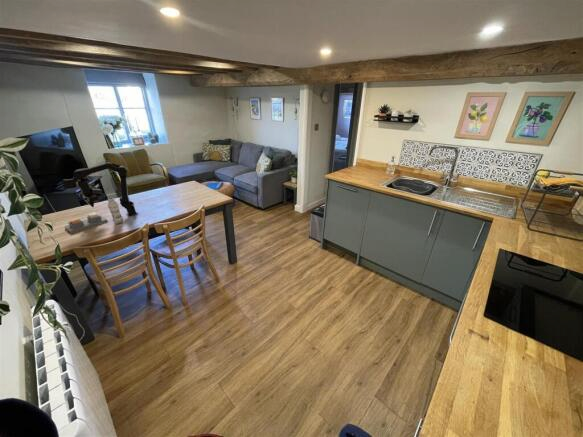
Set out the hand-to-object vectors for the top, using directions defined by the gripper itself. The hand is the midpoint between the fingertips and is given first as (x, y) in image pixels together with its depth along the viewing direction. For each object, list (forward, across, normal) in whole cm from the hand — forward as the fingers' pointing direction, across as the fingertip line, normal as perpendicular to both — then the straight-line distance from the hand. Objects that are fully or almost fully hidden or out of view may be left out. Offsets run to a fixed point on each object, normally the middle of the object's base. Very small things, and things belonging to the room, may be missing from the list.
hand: (92, 206), depth 176 cm
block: (+11, -2, +8) cm, 14 cm away
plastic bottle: (+12, -17, -7) cm, 22 cm away
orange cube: (+8, -2, +13) cm, 16 cm away
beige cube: (+8, -2, +2) cm, 9 cm away
